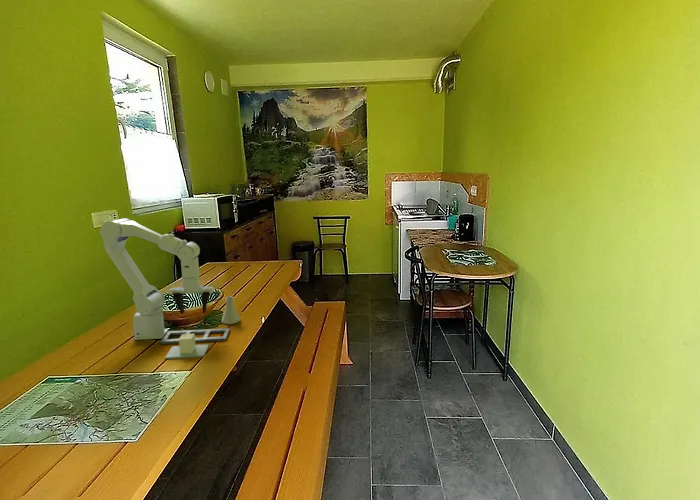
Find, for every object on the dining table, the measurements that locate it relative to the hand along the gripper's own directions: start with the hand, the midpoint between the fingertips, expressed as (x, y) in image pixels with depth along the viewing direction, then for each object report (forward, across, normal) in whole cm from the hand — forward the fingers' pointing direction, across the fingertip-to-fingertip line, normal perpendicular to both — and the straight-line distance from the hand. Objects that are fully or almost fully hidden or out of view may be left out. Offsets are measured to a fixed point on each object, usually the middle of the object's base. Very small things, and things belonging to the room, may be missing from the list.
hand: (193, 312), depth 137 cm
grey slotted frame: (+9, +1, -2) cm, 9 cm away
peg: (+8, +1, -14) cm, 16 cm away
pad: (+9, +1, -14) cm, 17 cm away
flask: (+9, +11, +12) cm, 19 cm away
